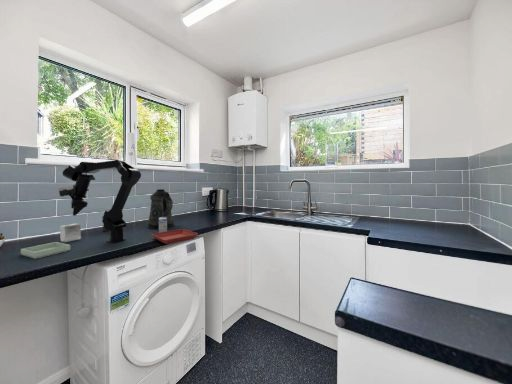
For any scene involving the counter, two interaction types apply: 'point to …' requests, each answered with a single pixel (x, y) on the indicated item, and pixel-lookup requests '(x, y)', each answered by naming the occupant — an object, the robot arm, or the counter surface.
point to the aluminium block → (70, 232)
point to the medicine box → (162, 224)
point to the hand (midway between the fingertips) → (73, 211)
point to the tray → (45, 250)
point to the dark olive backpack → (160, 209)
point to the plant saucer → (174, 236)
